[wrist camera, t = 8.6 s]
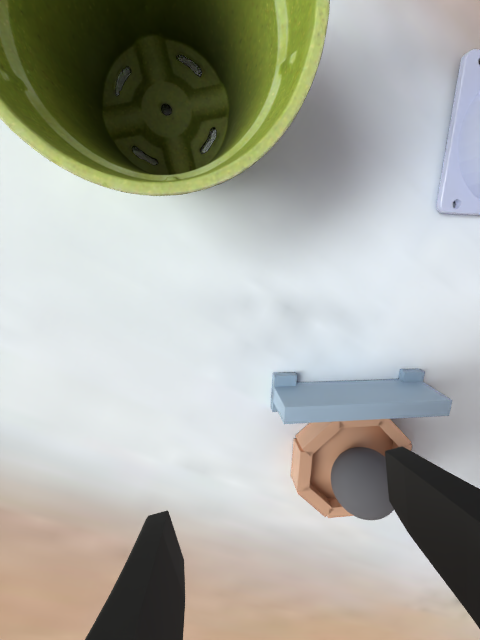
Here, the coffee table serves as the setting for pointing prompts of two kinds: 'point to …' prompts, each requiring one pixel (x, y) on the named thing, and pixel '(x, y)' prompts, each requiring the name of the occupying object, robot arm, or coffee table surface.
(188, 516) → the coffee table surface
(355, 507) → the ball
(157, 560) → the robot arm
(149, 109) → the plant pot
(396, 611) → the coffee table surface
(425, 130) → the coffee table surface
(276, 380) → the blue slab with nubs
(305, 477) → the bowl
